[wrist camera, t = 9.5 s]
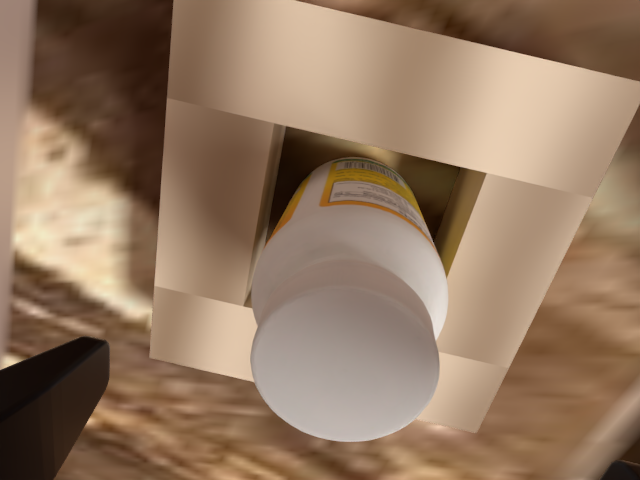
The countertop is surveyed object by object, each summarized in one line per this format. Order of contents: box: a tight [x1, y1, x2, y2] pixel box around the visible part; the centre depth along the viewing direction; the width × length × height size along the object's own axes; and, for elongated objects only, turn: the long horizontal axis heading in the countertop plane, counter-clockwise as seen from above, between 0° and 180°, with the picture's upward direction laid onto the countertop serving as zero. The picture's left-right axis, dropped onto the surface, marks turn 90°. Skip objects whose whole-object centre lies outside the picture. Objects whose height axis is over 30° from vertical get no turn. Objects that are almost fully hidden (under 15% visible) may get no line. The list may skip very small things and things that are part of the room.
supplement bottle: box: [250, 157, 448, 442], centre depth 13 cm, size 5×5×10 cm
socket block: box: [149, 0, 640, 433], centre depth 16 cm, size 14×14×3 cm
